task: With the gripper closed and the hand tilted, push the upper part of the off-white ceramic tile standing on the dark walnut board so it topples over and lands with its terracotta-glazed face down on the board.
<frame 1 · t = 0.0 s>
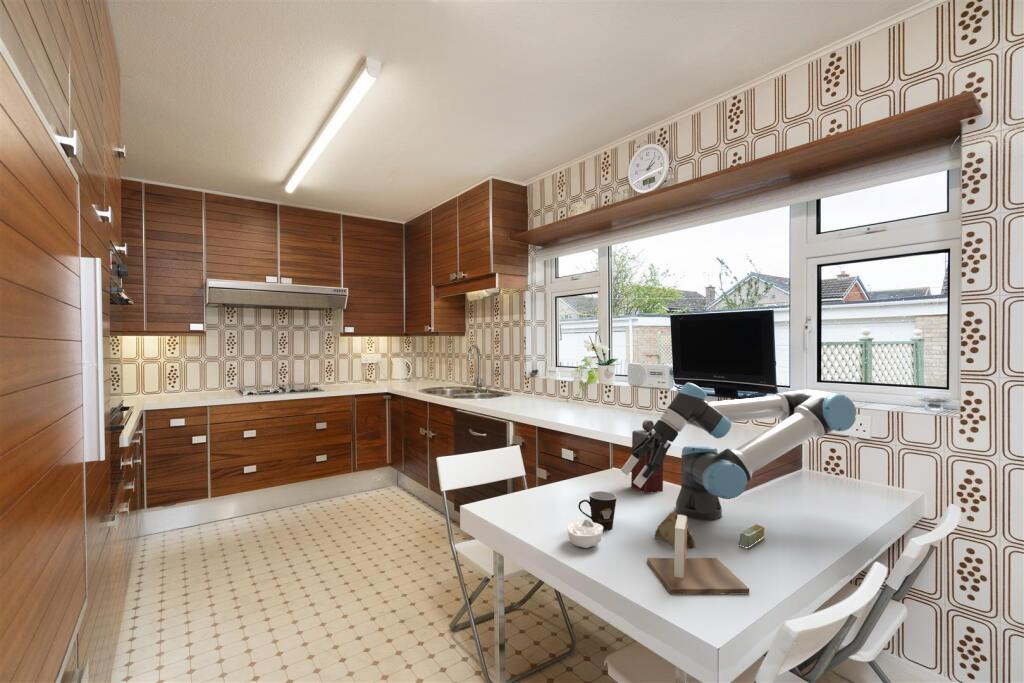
hand: (629, 478, 150), 15 cm above the table, tool tilted 35°, fingers open, 13 cm apart
medication box: (751, 543, 141), on the table
rock: (673, 543, 139), on the table
coffee mug: (597, 526, 150), on the table
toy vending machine: (648, 490, 190), on the table
board: (694, 577, 118), on the table
tile: (680, 568, 120), point 1 cm above the table, touching board
cell model: (584, 545, 136), on the table
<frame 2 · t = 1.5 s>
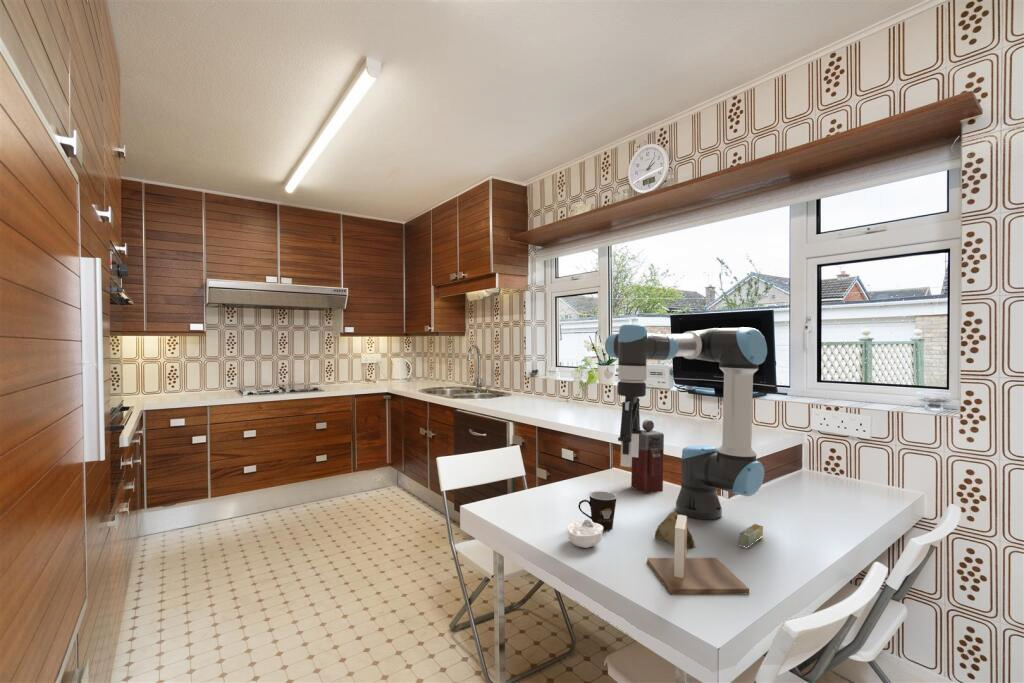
hand: (629, 461, 128), 26 cm above the table, tool pointing down, fingers open, 11 cm apart
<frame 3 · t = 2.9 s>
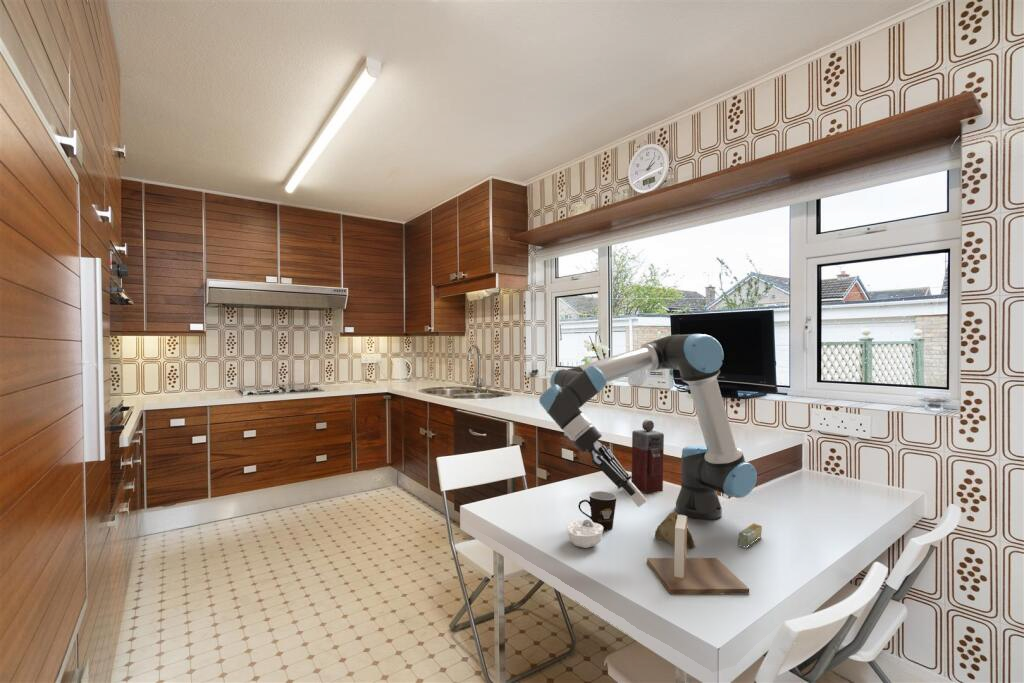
hand: (642, 503, 124), 16 cm above the table, tool tilted 45°, fingers closed
nothing on the table moved.
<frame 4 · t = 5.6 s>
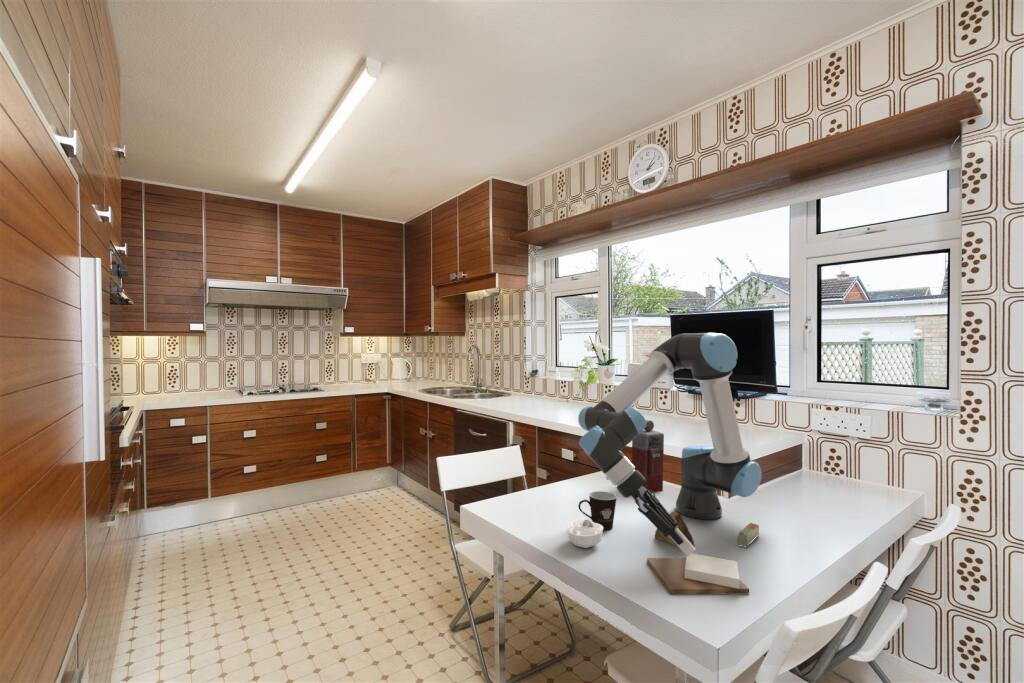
hand: (691, 552, 119), 6 cm above the table, tool tilted 45°, fingers closed
tile: (685, 564, 119), point 2 cm above the table, tilted 90°, touching board
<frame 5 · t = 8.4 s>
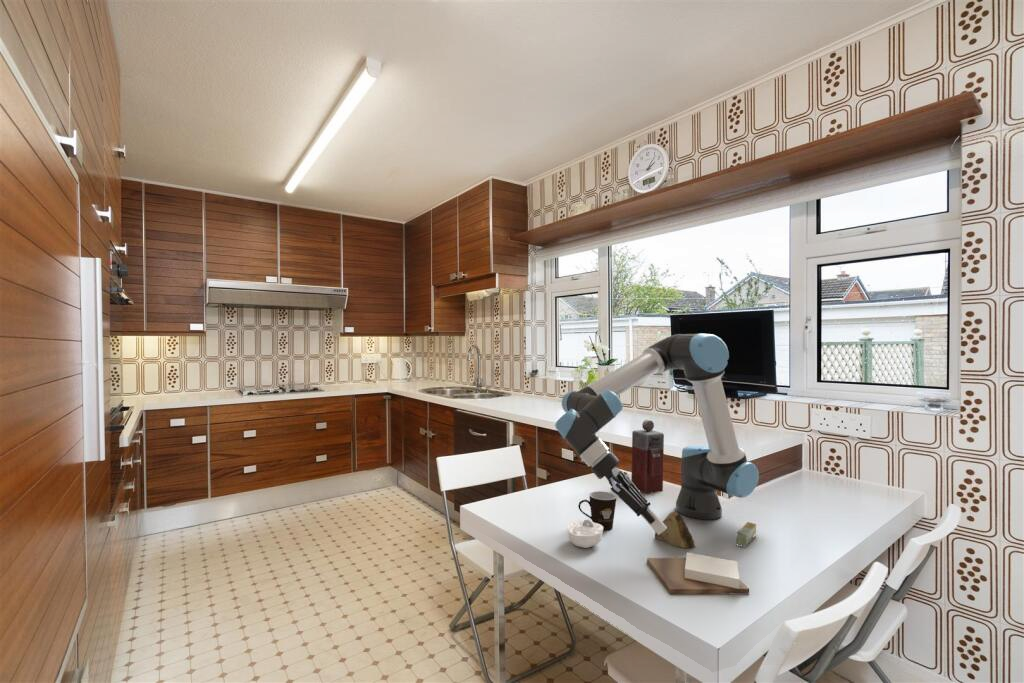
hand: (662, 531, 122), 10 cm above the table, tool tilted 45°, fingers closed
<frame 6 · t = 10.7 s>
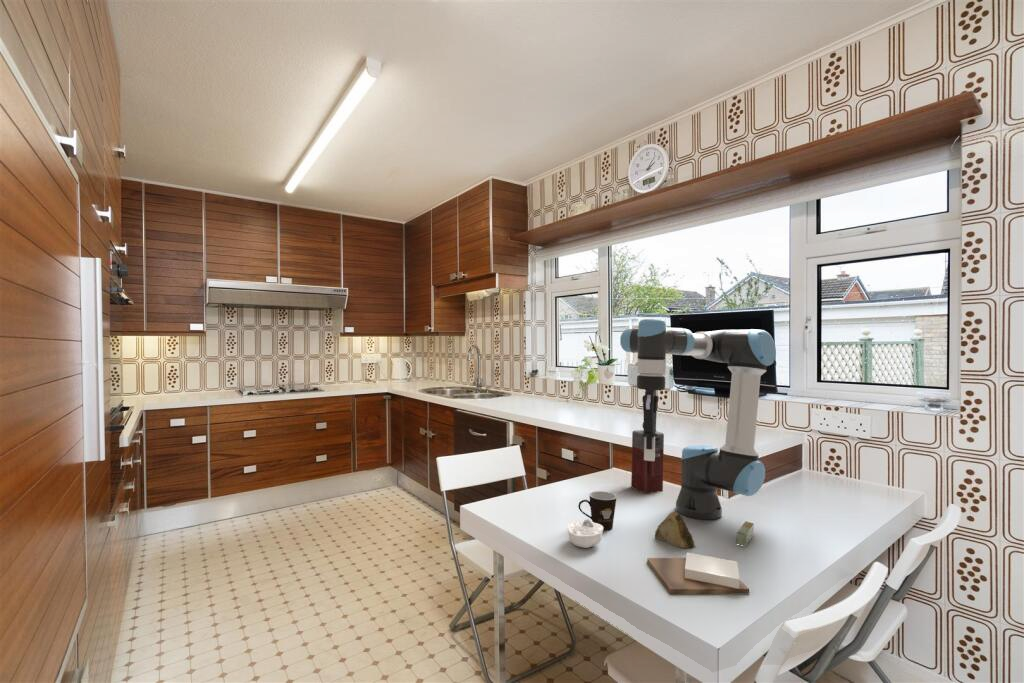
hand: (649, 460, 130), 26 cm above the table, tool pointing down, fingers closed
at the end: tile tilted 90°; tile inside the target area on the board (2.3 cm from its centre), point 2.5 cm above the board's base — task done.
